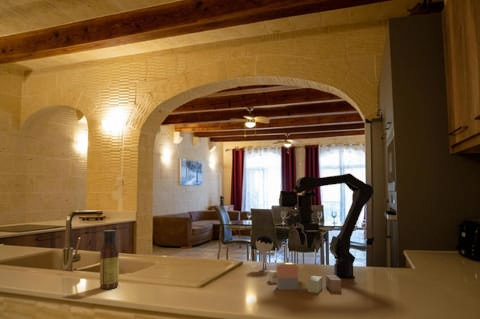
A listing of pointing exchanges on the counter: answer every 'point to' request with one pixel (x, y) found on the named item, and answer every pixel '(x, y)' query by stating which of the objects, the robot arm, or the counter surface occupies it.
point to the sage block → (314, 284)
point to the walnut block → (333, 283)
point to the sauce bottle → (109, 261)
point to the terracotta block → (287, 271)
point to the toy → (264, 247)
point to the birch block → (273, 276)
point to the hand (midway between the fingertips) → (305, 246)
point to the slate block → (287, 283)
